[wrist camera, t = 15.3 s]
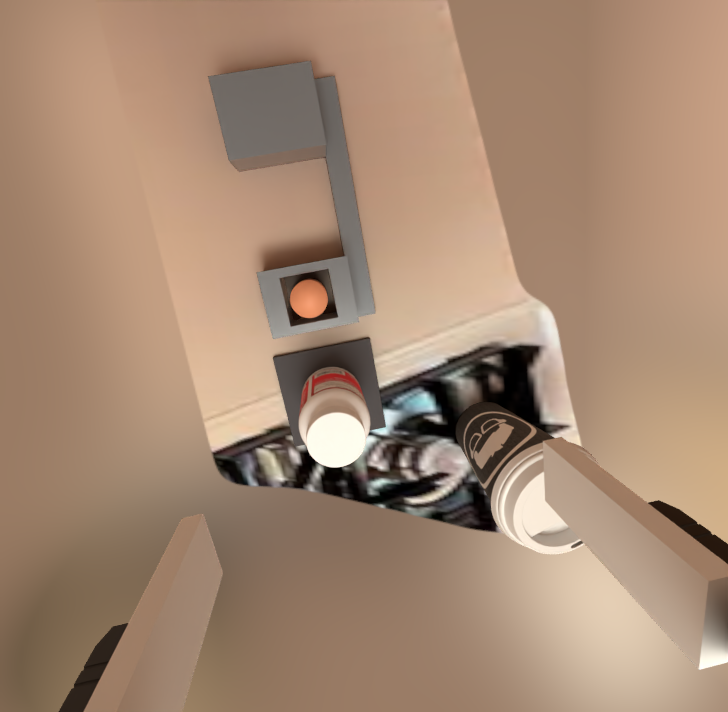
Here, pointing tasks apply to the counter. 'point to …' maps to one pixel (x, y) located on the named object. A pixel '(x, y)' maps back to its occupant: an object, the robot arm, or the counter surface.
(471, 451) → the coffee cup
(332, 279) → the housing
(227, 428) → the counter surface
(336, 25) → the counter surface
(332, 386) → the pill bottle
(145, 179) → the counter surface
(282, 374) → the mat
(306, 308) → the plunger
